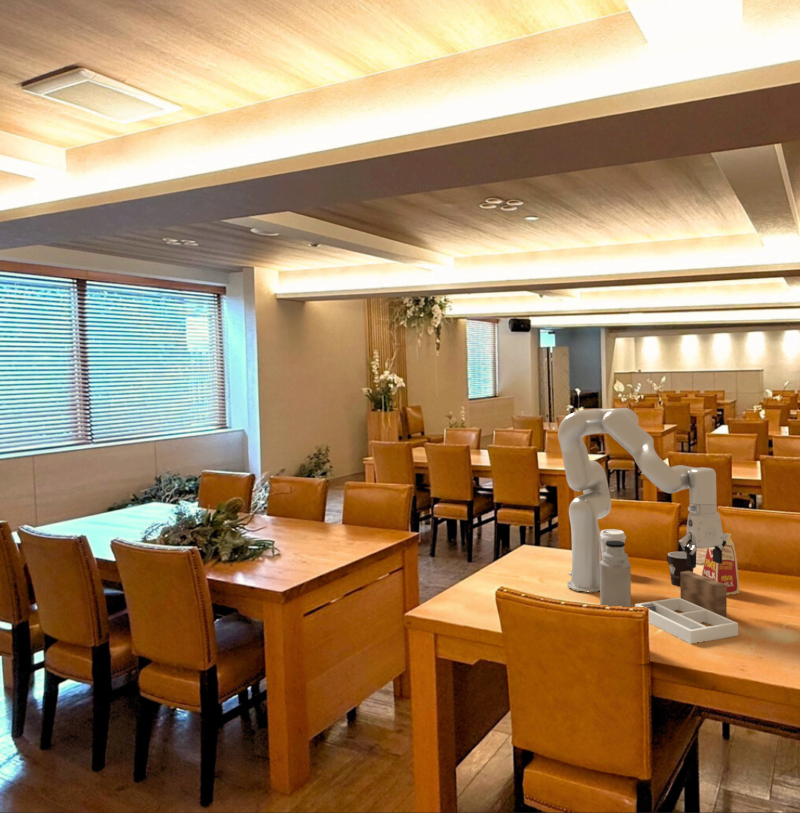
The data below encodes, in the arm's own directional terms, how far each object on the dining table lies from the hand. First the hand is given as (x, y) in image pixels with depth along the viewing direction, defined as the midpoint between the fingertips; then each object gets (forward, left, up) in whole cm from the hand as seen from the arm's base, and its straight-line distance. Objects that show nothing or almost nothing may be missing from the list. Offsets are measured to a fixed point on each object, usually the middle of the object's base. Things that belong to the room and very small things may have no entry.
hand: (704, 564), depth 222 cm
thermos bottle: (+12, -40, -14) cm, 44 cm away
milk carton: (-13, +18, -14) cm, 27 cm away
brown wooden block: (0, 0, -14) cm, 14 cm away
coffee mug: (-25, +12, -14) cm, 32 cm away
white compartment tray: (+8, -14, -14) cm, 21 cm away
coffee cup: (-44, -2, -14) cm, 47 cm away
